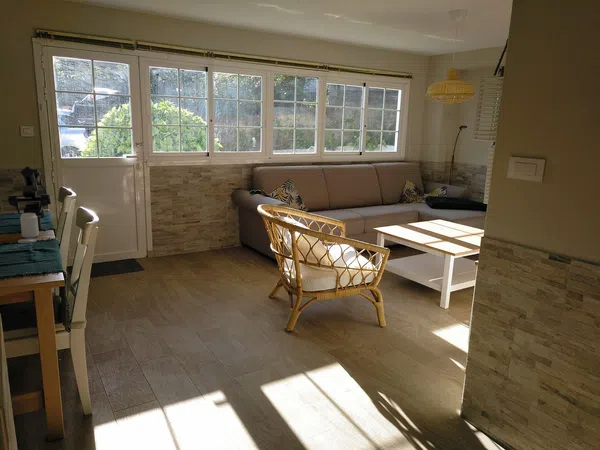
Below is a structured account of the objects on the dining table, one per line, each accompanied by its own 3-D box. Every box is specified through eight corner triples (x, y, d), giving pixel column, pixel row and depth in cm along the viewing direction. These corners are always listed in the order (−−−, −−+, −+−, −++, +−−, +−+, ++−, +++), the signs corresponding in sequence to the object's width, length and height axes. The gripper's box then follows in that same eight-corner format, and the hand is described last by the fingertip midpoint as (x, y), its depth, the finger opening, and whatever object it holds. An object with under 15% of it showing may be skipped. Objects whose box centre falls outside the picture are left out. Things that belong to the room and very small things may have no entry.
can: (31, 239, 229) (29, 215, 226) (18, 237, 230) (16, 214, 227) (42, 235, 236) (40, 212, 233) (29, 234, 237) (27, 211, 235)
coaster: (19, 240, 226) (19, 238, 226) (37, 238, 229) (37, 237, 229) (16, 244, 219) (16, 242, 219) (35, 243, 222) (35, 241, 222)
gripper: (6, 179, 230) (4, 205, 223) (48, 179, 237) (47, 203, 230) (11, 192, 239) (9, 217, 231) (51, 191, 246) (50, 215, 238)
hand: (29, 213), depth 232 cm, fingers open, 9 cm apart
